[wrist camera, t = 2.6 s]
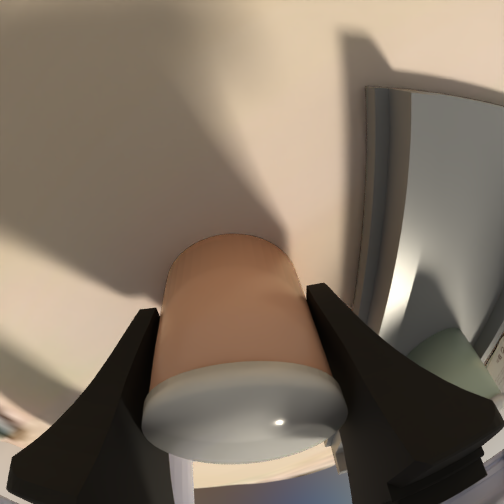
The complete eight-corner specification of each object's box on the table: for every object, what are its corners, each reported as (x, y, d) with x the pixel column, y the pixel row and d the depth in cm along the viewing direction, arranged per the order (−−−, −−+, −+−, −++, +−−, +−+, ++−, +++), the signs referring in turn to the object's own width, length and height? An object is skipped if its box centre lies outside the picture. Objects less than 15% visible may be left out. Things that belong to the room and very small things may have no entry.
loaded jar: (386, 390, 17) (416, 464, 12) (407, 341, 14) (454, 431, 9) (447, 367, 17) (481, 430, 12) (474, 316, 14) (522, 387, 9)
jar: (183, 343, 13) (179, 467, 8) (145, 244, 10) (102, 394, 5) (300, 326, 13) (335, 447, 8) (297, 220, 10) (365, 362, 5)
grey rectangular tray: (323, 441, 22) (332, 476, 19) (365, 86, 8) (439, 100, 5) (437, 403, 22) (451, 431, 19) (547, 120, 8) (597, 144, 5)
